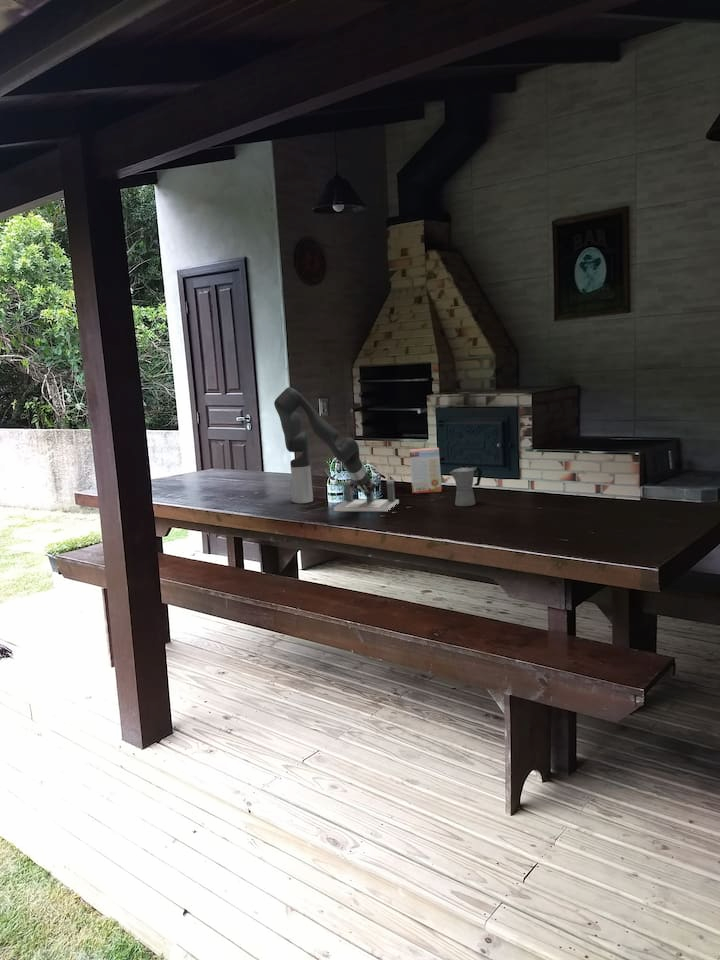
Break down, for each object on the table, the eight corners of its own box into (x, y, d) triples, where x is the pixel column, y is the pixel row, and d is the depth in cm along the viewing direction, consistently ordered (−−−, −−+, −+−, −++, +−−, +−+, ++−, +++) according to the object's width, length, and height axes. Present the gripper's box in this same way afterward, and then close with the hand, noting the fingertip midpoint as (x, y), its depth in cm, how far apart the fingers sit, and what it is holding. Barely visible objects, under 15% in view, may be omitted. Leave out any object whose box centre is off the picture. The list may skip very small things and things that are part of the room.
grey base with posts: (333, 511, 329) (331, 487, 327) (347, 503, 345) (345, 480, 343) (387, 511, 321) (386, 486, 319) (399, 503, 336) (397, 479, 335)
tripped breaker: (366, 501, 336) (365, 481, 335) (368, 499, 339) (367, 480, 338) (371, 501, 336) (370, 481, 334) (374, 499, 338) (372, 479, 337)
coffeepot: (455, 507, 318) (453, 466, 315) (446, 504, 327) (444, 463, 324) (488, 503, 322) (486, 462, 319) (478, 499, 331) (477, 459, 328)
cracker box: (441, 489, 360) (439, 446, 356) (441, 492, 354) (439, 448, 351) (412, 491, 361) (409, 448, 358) (412, 493, 356) (409, 450, 352)
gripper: (341, 480, 322) (353, 502, 335) (370, 479, 317) (381, 502, 331) (344, 465, 326) (356, 488, 339) (373, 465, 321) (384, 488, 335)
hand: (368, 495), depth 335 cm, fingers closed
